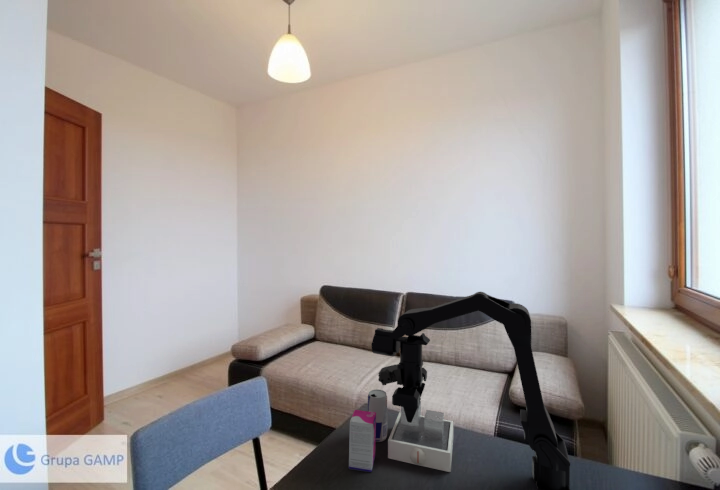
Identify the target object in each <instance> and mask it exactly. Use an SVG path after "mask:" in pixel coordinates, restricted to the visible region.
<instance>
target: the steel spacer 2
mask: <svg viewBox="0 0 720 490" xmlns="http://www.w3.org/2000/svg"><path fill="white" fill-rule="evenodd" d="M424 416H425V417H424V436H426V437H431V438H436V439H441V440H442V439H443V431H444V420H445V414H444V412H443V411H436V410H431V409H426V411H425V415H424Z"/></svg>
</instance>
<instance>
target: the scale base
mask: <svg viewBox="0 0 720 490" xmlns="http://www.w3.org/2000/svg"><path fill="white" fill-rule="evenodd" d="M424 417H425V415H421V418H424ZM400 419H401V411H399V412H398V415H397V417H396V419H395V421H394V425H393V428H392V430H391V432H390V435H389V437H388V439H387V459H391V460H395V461H398V462H404V463H407V464H412V465H416V466H421V467H424V468H430V469H435V470H439V471H444V472H448V473H451V471H452V459H453V446H454V445H453V443H454V421H453V420H449V419H448V420H447V419H444V422H448V423H449V435H448V444H447V451H446V450H441V449H436V448H431V447H427V446H422V445H417V444H412V443H407V442H402V441H397V440H393V438H394V435H395V432H396V430H397V427H398V425H399V422H400Z"/></svg>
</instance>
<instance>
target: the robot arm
mask: <svg viewBox="0 0 720 490" xmlns="http://www.w3.org/2000/svg"><path fill="white" fill-rule="evenodd" d="M474 312H475V313H476V312H481V313H483V314H485V315H486V316H488V317H489V318H491V319H492V320H494V321H496V322H498V323H500V324H501V325H503V327H504V330H505V332H506V335H507V337H508V338H509V341H510V343H511V345H512V347H513V351H514V354H515V360H516V363H517V369H518V374H519V377H520V382H521V387H522V390H523V391H522V392H523V397H524V401H525V407H526V408H525V409H526V410H525V409H519V410H520V411H519V412H520V414H519V415H520V424H521V426H522V427H521V428H523V438H524V439H523V440H524V442H527V441H528V445H529V448H530V449H531V450H532V451H534V455H533V456H531V475H532V479H533V481H534V482H535V485H536V488H537V490H571V489H570V485H571V484H570V482H571V481H570V479H571V478H570V477H571V475H570V474H571V469H570V468H571V460H570V458H569V454H568V449H567V446H566V442H565V440H564V438H562V437H561V435H560V434H558V432H557V431H556V430H555V425H554V423H553V421H552V419H551V415H550V414H549V412H548V409H547V408H546V405H545V403H544V400H543V395H542V390H541V385H540V379H539V377H538V372H537V367H536V363H535V358H534V354H533V349H532V320H531V315H530V312H529V310H528V308H527V307H526V306H524V305H523V304H520V303H515V302H514V303H509V302H508V301H505V300H503V299H500V298H497V297H494V296H492V295H489V294H487V293H486V292H484V291H477V292H475V293H474V294H471V295H467V296H465V297H461V298H458V299H455V300H452V301H449V302H445V303H442V304H439V305H435V306H433V307H432V306H431V307H421V308H420V307H419V308H418V307H417V308H411V309H408V310H406V311H405V312H404V313H402V314H401V315H400V316H399V317H398V319H397V326H396V327H395V328H394V329H393V330H390V329H384V328H381V327H377V328H375V329H374V335H373V338H372V342H371V346H370V347H371V351H372V353H373V354H375V355H383V356H388V357H395V356H396V354H399V363H397V364H391V365H388V366H384V367H382V368H381V369H380V370H379V372H378V374H377V375H378V382H380V383H381V385H382V386H386V385H388V384H392V383H396V385H398V386H399V385H400V386H402V387H400V386H399V387H397V388H396V389H394V391H393V393H392V396H391V404H392V405H393V406H395V407H396V406H397V407H400V408H401V407H403V408H404V412H405V415H406V419H407V422H410V423H411V422H412V420H413V418H414V415H415V413H416V410H417V408H418V406H419V403H420V401H421V397H422V395H423V392H424V390H425V386H426V383H424V382H426V381H427V379H428V370H427V369H425V367H423V365H424V360H423V346H427V345H428V344H429V343H430V341H431V339H430V338H429V337H428V336H427V335H426V334H425V333H423V332H422V331H424V330H425V329H427V328H430V327H431V326H433V325H434V324H438V323H441V322H444V321H447V320H448V321H449V320H452V319H455V318H458V317H461V316H464V315H469V314H472V313H474ZM420 332H422V333H421V334H420V335H416V334H418V333H420ZM399 352H400V353H399Z"/></svg>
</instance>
